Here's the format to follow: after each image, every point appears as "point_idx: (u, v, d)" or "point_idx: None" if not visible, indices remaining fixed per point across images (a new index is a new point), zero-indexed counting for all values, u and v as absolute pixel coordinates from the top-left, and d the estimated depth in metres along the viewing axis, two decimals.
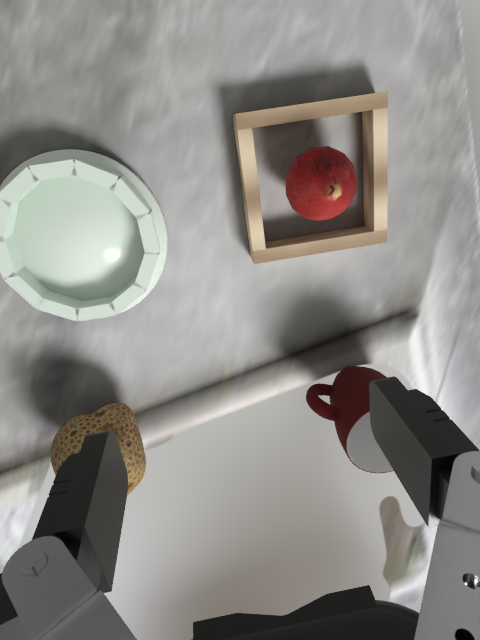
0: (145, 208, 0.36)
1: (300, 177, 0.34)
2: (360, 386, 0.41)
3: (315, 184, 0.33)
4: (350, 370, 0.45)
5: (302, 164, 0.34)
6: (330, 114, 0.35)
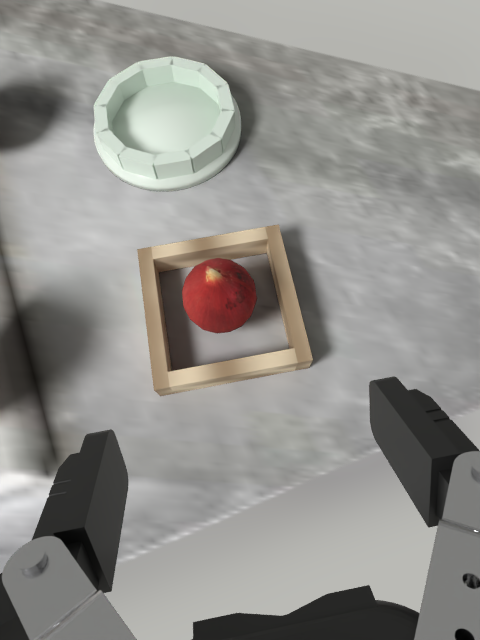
0: (195, 156, 0.40)
1: (226, 259, 0.33)
2: None
3: (220, 263, 0.32)
4: None
5: None
6: (285, 306, 0.35)
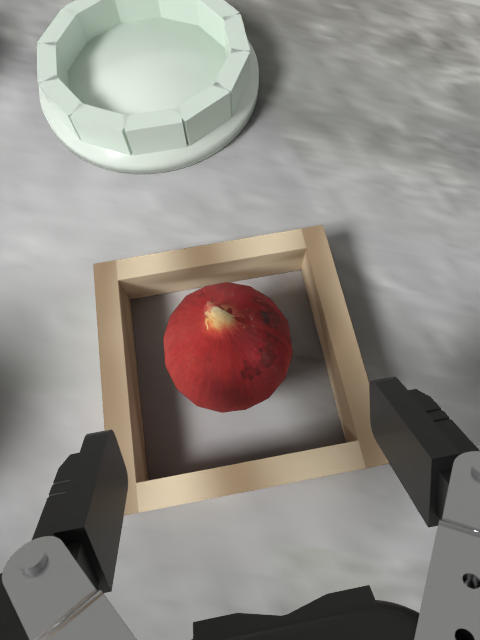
0: (189, 117, 0.26)
1: (241, 285, 0.19)
2: None
3: (231, 294, 0.18)
4: None
5: (261, 293, 0.19)
6: (340, 364, 0.21)
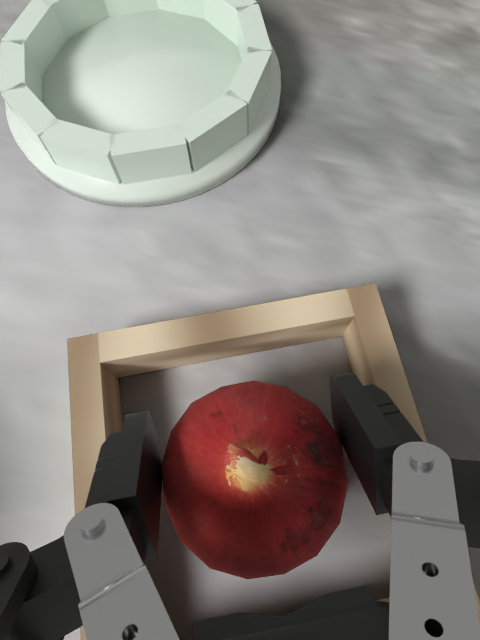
0: (195, 136, 0.20)
1: (275, 392, 0.13)
2: None
3: (263, 418, 0.12)
4: None
5: (303, 401, 0.13)
6: None
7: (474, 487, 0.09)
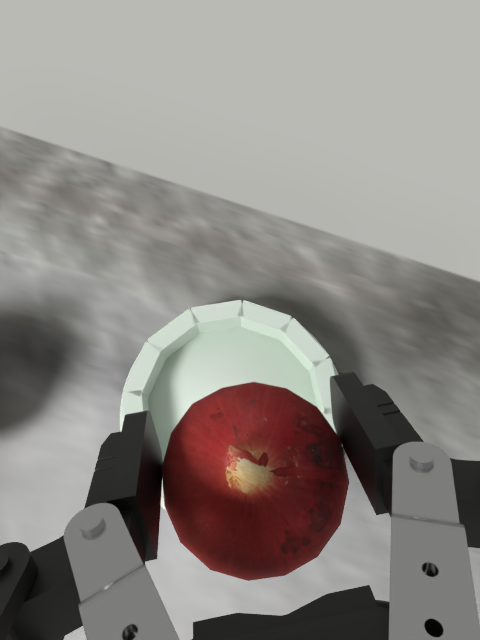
0: None
1: (275, 393, 0.13)
2: None
3: (263, 419, 0.12)
4: None
5: (303, 402, 0.13)
6: None
7: (474, 487, 0.09)
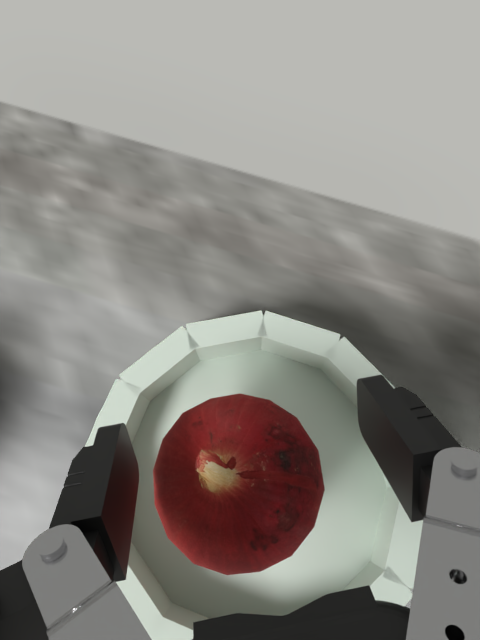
0: None
1: (253, 404, 0.14)
2: None
3: (237, 427, 0.13)
4: None
5: (281, 412, 0.15)
6: None
7: None
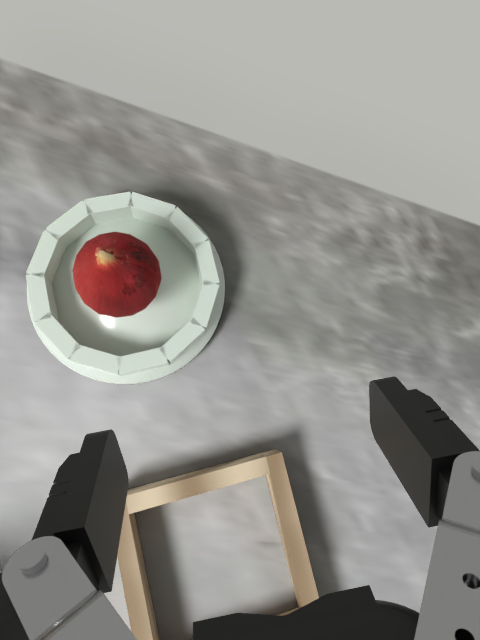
0: (173, 356, 0.31)
1: (123, 234, 0.29)
2: None
3: (114, 241, 0.27)
4: None
5: (137, 239, 0.29)
6: (295, 568, 0.30)
7: None
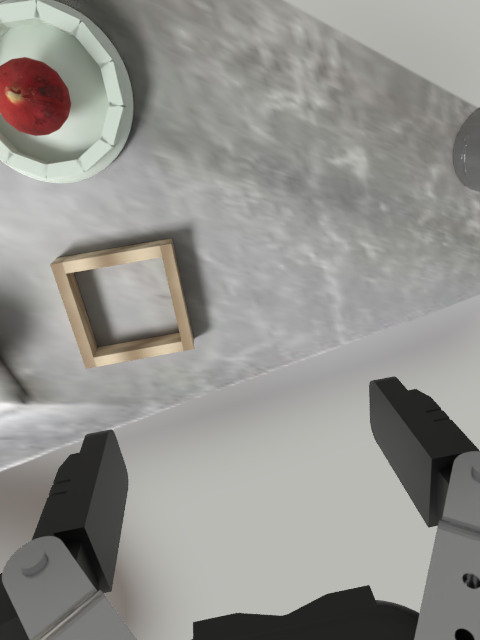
0: (87, 168, 0.40)
1: (29, 65, 0.34)
2: None
3: (21, 77, 0.33)
4: None
5: (43, 69, 0.34)
6: (176, 312, 0.48)
7: None
